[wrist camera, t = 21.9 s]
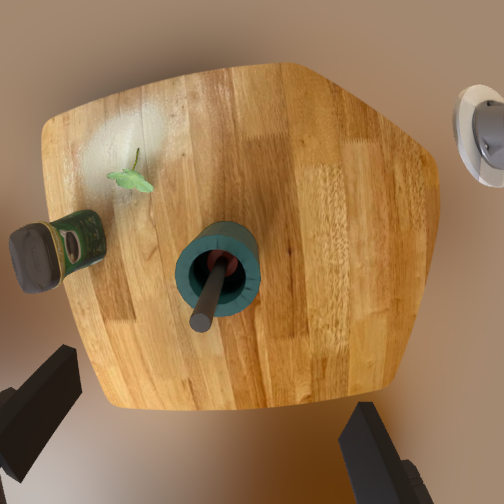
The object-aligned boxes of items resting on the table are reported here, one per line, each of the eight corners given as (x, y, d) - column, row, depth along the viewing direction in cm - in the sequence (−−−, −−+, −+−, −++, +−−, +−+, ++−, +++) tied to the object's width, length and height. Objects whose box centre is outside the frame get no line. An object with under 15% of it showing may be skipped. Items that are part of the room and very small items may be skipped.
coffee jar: (67, 214, 46) (-3, 231, 28) (101, 205, 46) (33, 219, 28) (77, 265, 48) (15, 300, 30) (112, 260, 48) (52, 297, 30)
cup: (263, 227, 47) (268, 244, 34) (251, 288, 49) (251, 323, 36) (200, 215, 46) (181, 227, 34) (190, 276, 49) (171, 307, 36)
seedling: (150, 167, 49) (141, 199, 47) (111, 149, 44) (100, 182, 42) (171, 150, 45) (162, 185, 42) (129, 129, 39) (116, 164, 37)
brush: (241, 243, 46) (231, 304, 23) (236, 270, 47) (222, 350, 24) (213, 238, 46) (176, 292, 23) (209, 264, 47) (171, 340, 24)
